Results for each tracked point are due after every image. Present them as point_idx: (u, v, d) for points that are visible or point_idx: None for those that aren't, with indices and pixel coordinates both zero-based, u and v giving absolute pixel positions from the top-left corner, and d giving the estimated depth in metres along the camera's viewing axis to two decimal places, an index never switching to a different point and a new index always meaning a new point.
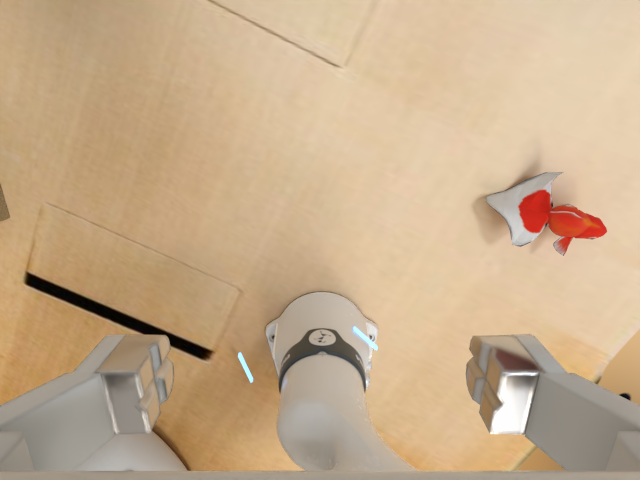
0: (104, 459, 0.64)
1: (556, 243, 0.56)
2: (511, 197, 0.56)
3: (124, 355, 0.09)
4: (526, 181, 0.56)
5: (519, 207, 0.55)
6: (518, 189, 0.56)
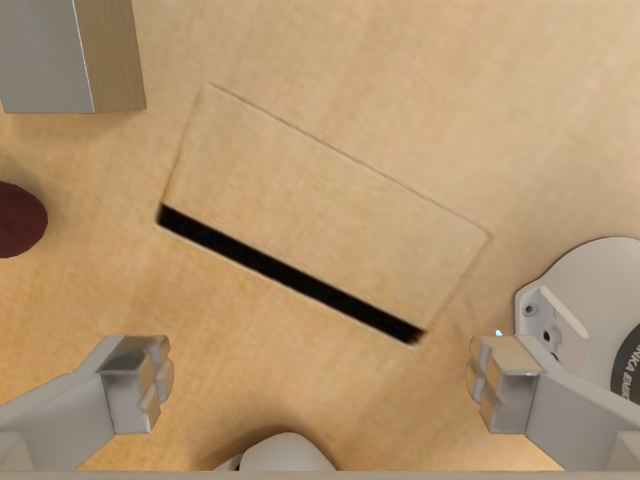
0: None
1: None
2: None
3: (124, 355, 0.09)
4: None
5: None
6: None
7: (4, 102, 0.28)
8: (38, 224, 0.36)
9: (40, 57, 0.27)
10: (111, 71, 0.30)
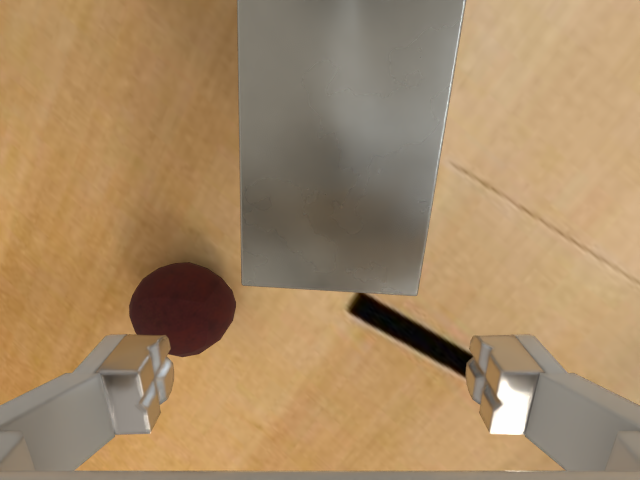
0: None
1: None
2: None
3: (124, 355, 0.09)
4: None
5: None
6: None
7: (247, 269, 0.14)
8: (232, 317, 0.31)
9: (344, 194, 0.13)
10: None
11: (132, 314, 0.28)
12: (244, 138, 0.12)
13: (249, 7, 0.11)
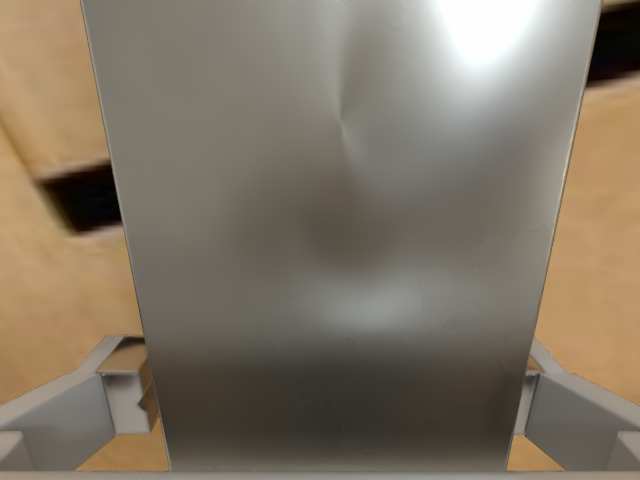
0: None
1: None
2: None
3: (124, 355, 0.09)
4: None
5: None
6: None
7: None
8: None
9: None
10: None
11: None
12: (167, 416, 0.07)
13: (144, 223, 0.06)
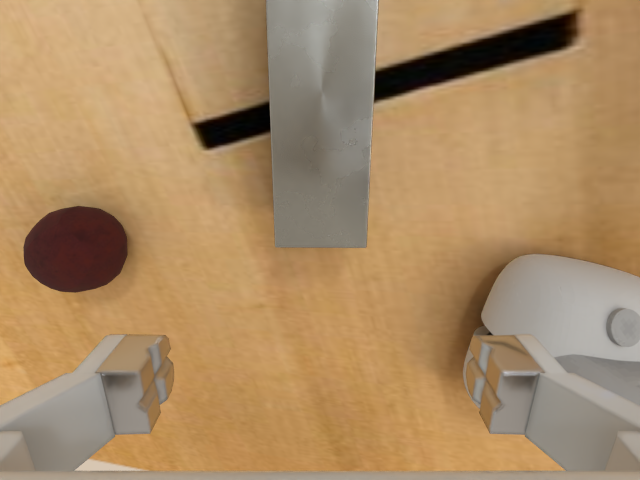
0: (554, 320, 0.30)
1: None
2: None
3: (124, 355, 0.09)
4: None
5: None
6: None
7: (277, 238, 0.27)
8: (109, 224, 0.33)
9: (324, 197, 0.26)
10: None
11: (33, 276, 0.32)
12: (274, 173, 0.26)
13: (275, 115, 0.24)
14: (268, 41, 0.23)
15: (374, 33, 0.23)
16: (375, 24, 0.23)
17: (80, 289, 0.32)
